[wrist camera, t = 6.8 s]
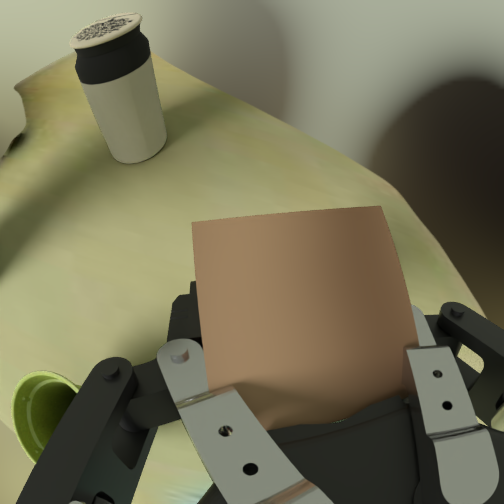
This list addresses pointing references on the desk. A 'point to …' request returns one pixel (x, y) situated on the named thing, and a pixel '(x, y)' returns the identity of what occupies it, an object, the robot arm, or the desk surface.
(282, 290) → the walnut block
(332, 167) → the desk surface
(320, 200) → the desk surface
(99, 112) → the travel mug
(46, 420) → the plant pot
